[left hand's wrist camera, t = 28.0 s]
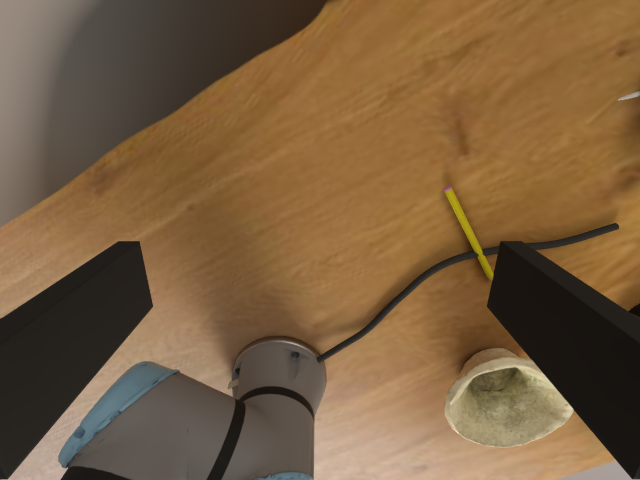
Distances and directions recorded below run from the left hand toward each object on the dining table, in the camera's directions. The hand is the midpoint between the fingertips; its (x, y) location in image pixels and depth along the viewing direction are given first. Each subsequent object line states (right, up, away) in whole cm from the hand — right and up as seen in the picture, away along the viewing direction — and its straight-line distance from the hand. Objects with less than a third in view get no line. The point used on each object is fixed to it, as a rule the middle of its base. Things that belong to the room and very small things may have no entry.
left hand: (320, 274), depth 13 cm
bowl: (+27, -20, +43) cm, 55 cm away
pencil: (+21, +2, +35) cm, 41 cm away
